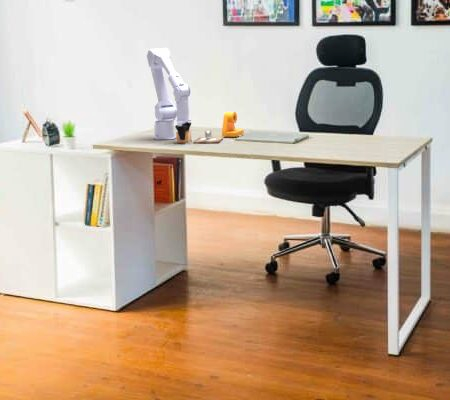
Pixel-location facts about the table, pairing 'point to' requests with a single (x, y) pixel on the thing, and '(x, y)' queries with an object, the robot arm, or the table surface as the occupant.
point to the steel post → (208, 135)
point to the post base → (212, 141)
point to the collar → (187, 137)
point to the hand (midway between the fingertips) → (184, 138)
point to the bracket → (230, 125)
